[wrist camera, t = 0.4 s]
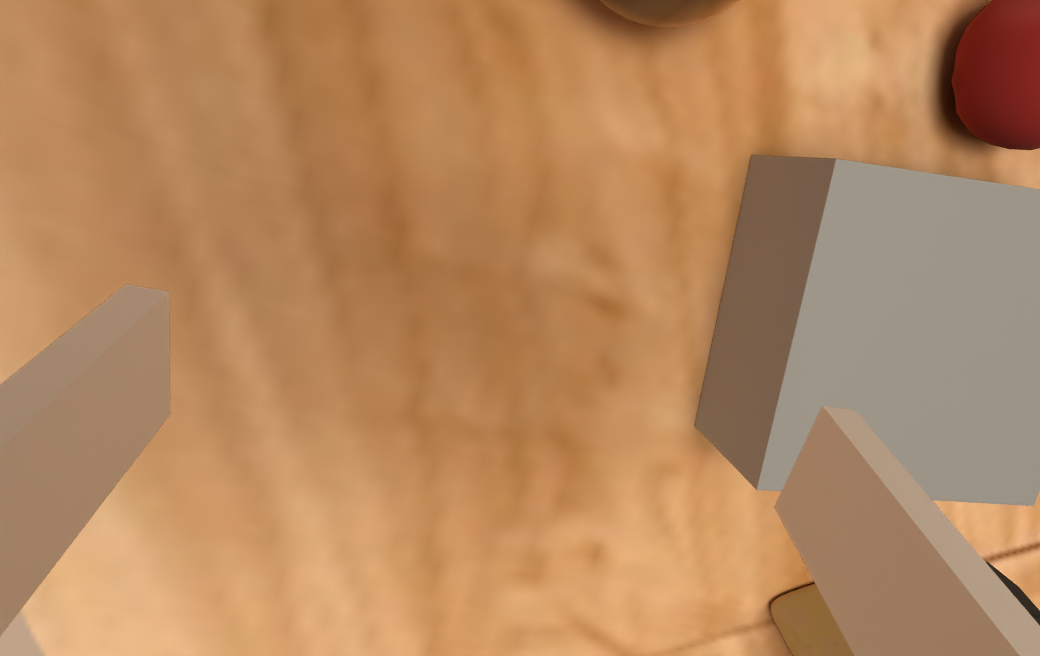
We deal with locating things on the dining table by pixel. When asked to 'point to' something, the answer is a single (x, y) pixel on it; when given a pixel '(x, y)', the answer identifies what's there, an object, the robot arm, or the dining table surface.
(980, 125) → the tomato
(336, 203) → the dining table surface
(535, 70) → the dining table surface
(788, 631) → the cheese
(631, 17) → the pump dispenser
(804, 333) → the slate block
